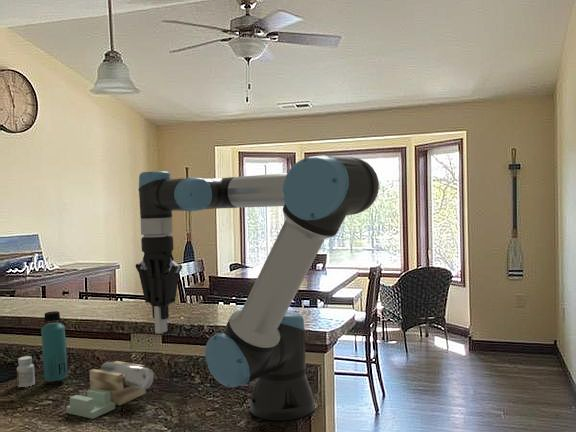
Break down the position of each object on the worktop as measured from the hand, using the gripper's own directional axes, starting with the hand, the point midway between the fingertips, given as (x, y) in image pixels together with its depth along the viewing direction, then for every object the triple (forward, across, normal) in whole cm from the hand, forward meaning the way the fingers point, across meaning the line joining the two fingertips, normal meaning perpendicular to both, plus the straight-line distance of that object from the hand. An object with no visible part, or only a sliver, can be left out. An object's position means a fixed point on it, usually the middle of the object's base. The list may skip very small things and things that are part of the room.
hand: (161, 331), depth 142 cm
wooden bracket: (+18, +15, 0) cm, 24 cm away
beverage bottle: (+19, +40, -1) cm, 44 cm away
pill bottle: (+19, +46, +4) cm, 50 cm away
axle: (+12, +12, 0) cm, 17 cm away
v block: (+18, +15, +10) cm, 26 cm away
